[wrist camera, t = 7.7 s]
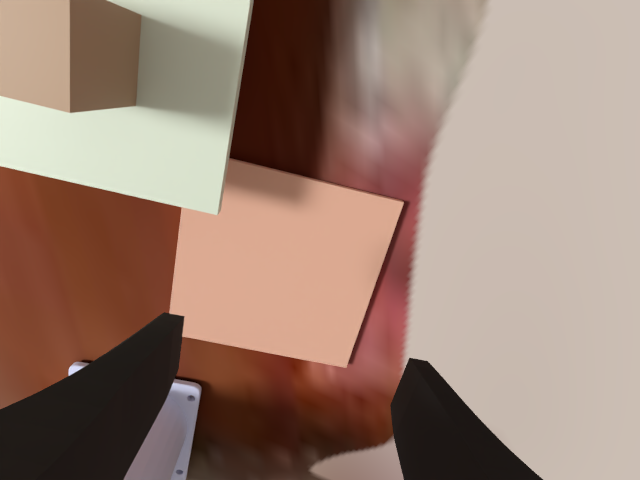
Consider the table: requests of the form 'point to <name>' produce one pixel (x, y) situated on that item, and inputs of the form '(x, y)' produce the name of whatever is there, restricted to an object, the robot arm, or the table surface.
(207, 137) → the lid
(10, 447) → the robot arm
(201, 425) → the table surface
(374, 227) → the peach square plate
